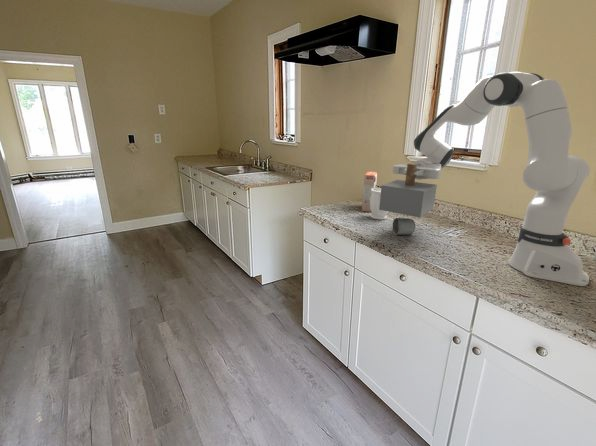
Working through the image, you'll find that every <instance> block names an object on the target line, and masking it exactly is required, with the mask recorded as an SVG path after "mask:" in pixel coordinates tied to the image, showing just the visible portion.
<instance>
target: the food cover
mask: <svg viewBox="0 0 596 446" xmlns="http://www.w3.org/2000/svg"><path fill="white" fill-rule="evenodd" d="M406 165H407V172H406V175H405V179H404V180H403V179H395V180H392V181H389V182H386V183H384V184H381V187H380V188H381V196H380V206H379V210H383V211H388V213H389V212H391V213H395V214H400V215H403V216H404V215H405V216H410V217H414V218H415V217H416V218H422V217H423V216H425V215H426V214H428V213H429V212H430V211H432V210H434V207H435V200H436V193H437V187H438V184H433V183H426V182H417V181H416V179H415V176H414V171H416V168H417V164H413V163H407V164H406Z"/></svg>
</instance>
